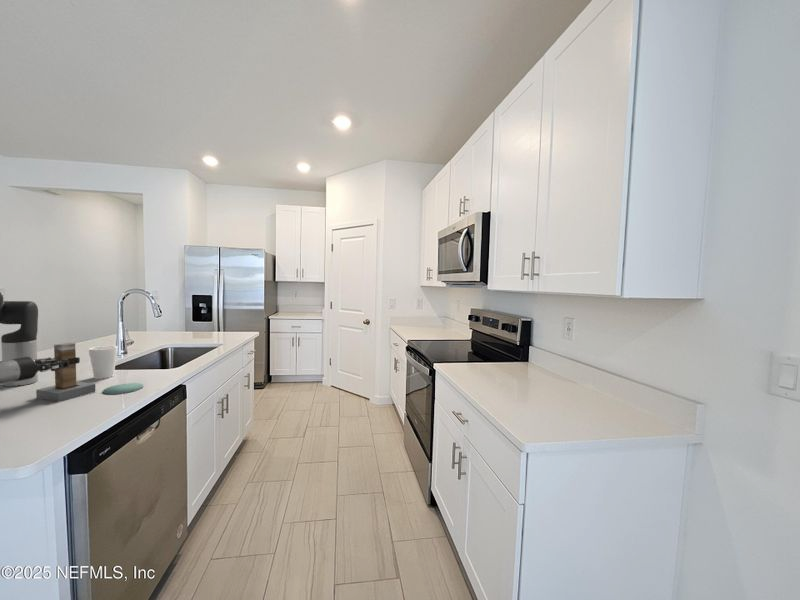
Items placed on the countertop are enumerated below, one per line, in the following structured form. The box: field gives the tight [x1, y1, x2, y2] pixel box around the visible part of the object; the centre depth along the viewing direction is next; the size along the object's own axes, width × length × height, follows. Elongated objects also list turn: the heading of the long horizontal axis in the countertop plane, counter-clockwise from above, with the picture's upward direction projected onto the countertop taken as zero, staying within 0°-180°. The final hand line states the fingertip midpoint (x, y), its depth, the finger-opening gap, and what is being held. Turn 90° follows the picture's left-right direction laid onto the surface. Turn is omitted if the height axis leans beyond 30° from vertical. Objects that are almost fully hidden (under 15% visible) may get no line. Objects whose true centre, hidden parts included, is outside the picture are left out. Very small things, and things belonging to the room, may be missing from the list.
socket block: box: [35, 380, 96, 403], centre depth 121 cm, size 11×11×3 cm
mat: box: [102, 382, 144, 395], centre depth 128 cm, size 12×12×1 cm
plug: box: [53, 342, 77, 389], centre depth 120 cm, size 4×4×16 cm
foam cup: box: [88, 345, 119, 380], centre depth 143 cm, size 10×9×13 cm
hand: (74, 359), depth 123 cm, fingers closed on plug, 4 cm apart
